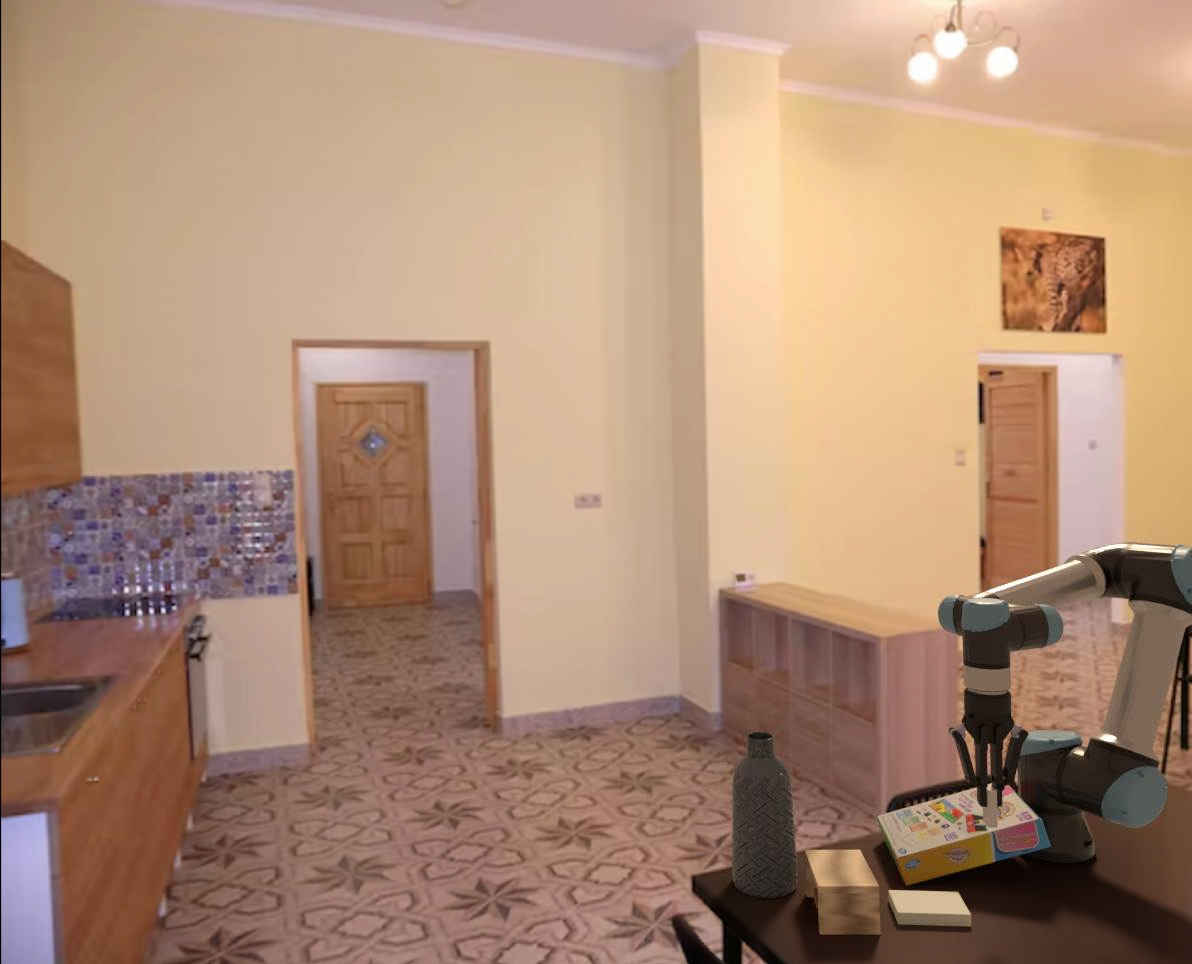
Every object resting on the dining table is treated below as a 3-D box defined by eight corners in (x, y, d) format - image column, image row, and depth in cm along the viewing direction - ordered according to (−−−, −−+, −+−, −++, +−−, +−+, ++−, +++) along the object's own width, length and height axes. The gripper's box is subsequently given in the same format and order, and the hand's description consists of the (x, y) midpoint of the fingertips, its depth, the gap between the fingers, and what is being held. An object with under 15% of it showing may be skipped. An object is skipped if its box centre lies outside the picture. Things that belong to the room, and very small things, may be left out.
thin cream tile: (958, 905, 158) (958, 891, 158) (971, 929, 150) (971, 914, 150) (888, 903, 160) (888, 889, 160) (898, 926, 152) (897, 912, 152)
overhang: (861, 893, 163) (860, 849, 163) (880, 934, 149) (879, 886, 149) (806, 894, 163) (804, 849, 163) (820, 934, 149) (818, 886, 149)
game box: (905, 887, 165) (1052, 848, 161) (895, 859, 165) (1042, 819, 161) (884, 839, 185) (1014, 803, 182) (875, 814, 185) (1005, 778, 182)
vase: (726, 894, 164) (721, 743, 164) (739, 866, 176) (734, 724, 175) (793, 903, 160) (788, 748, 160) (801, 873, 172) (797, 728, 171)
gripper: (1017, 683, 157) (1020, 815, 157) (941, 684, 158) (944, 816, 158) (1035, 694, 149) (1038, 833, 150) (955, 695, 150) (959, 833, 151)
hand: (990, 824), depth 154 cm, fingers closed
